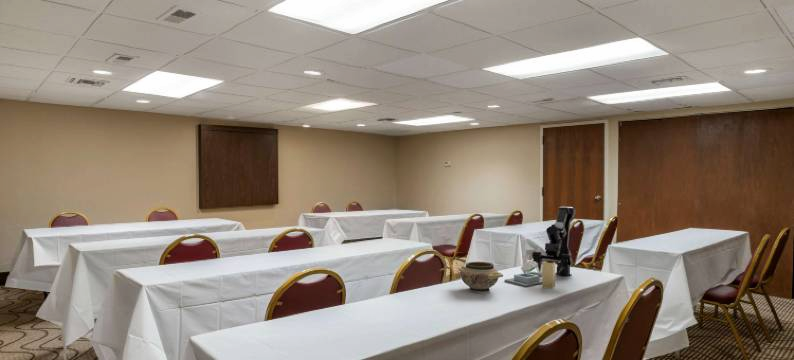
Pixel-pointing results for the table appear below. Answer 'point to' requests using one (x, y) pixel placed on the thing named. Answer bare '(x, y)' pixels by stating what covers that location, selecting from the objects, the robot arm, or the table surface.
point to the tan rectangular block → (548, 274)
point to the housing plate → (525, 280)
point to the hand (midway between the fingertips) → (548, 271)
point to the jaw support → (530, 264)
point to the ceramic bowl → (479, 276)
